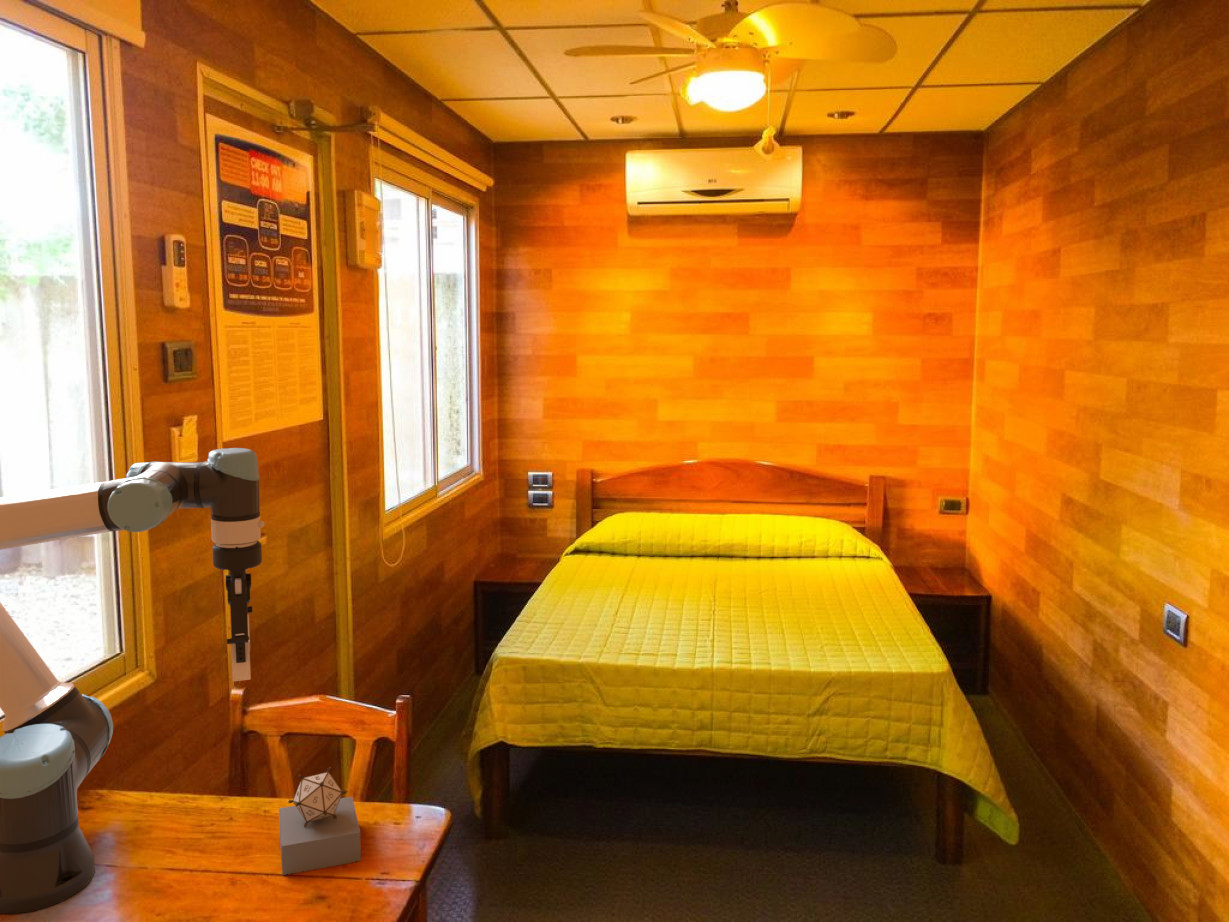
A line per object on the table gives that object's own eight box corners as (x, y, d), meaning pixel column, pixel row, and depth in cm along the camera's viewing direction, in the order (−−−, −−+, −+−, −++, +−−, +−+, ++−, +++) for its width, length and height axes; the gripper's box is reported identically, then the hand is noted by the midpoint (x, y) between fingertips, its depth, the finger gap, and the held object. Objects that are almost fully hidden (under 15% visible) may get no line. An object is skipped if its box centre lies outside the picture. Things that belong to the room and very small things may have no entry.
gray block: (282, 875, 147) (281, 846, 146) (279, 835, 158) (278, 808, 157) (360, 860, 151) (360, 832, 151) (352, 823, 162) (352, 796, 162)
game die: (306, 842, 154) (267, 797, 152) (340, 803, 160) (303, 760, 159) (333, 835, 148) (292, 789, 147) (367, 795, 155) (329, 750, 153)
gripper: (262, 559, 144) (267, 690, 147) (260, 524, 167) (264, 638, 170) (209, 563, 141) (215, 696, 144) (214, 527, 164) (219, 642, 167)
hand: (241, 665), depth 157 cm, fingers open, 13 cm apart
